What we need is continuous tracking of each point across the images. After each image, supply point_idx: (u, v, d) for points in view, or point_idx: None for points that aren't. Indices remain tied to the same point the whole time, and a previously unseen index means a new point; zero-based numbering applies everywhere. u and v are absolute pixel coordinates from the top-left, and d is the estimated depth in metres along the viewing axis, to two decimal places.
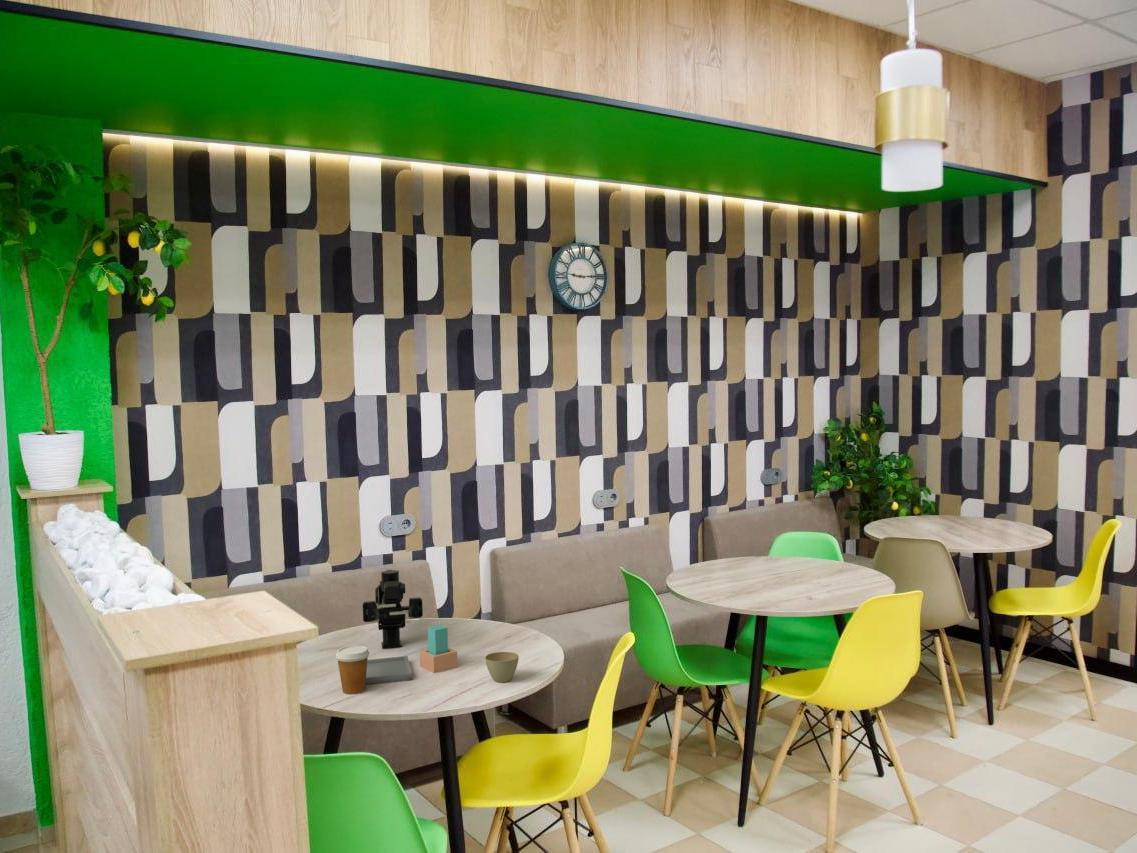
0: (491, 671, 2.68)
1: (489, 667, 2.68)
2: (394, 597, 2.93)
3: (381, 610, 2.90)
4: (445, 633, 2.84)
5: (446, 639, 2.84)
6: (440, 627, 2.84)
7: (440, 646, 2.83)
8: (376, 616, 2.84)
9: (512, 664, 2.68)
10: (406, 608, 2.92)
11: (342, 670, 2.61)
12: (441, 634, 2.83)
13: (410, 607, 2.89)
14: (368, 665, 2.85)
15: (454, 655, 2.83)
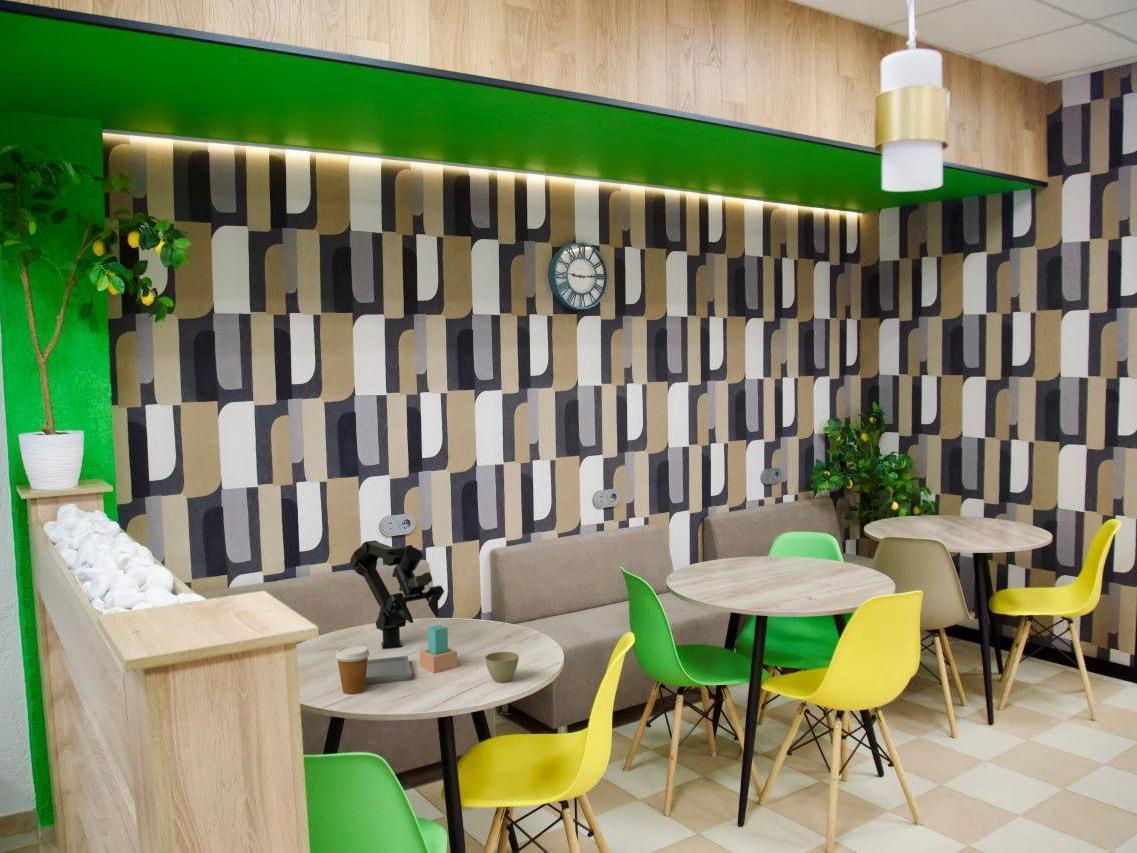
0: (491, 671, 2.68)
1: (489, 667, 2.68)
2: (419, 587, 2.93)
3: (406, 601, 2.92)
4: (445, 633, 2.84)
5: (446, 639, 2.84)
6: (440, 627, 2.84)
7: (440, 646, 2.83)
8: (407, 618, 2.88)
9: (512, 664, 2.68)
10: (427, 597, 2.97)
11: (342, 670, 2.61)
12: (440, 634, 2.82)
13: (436, 604, 2.95)
14: (368, 665, 2.85)
15: (454, 655, 2.83)
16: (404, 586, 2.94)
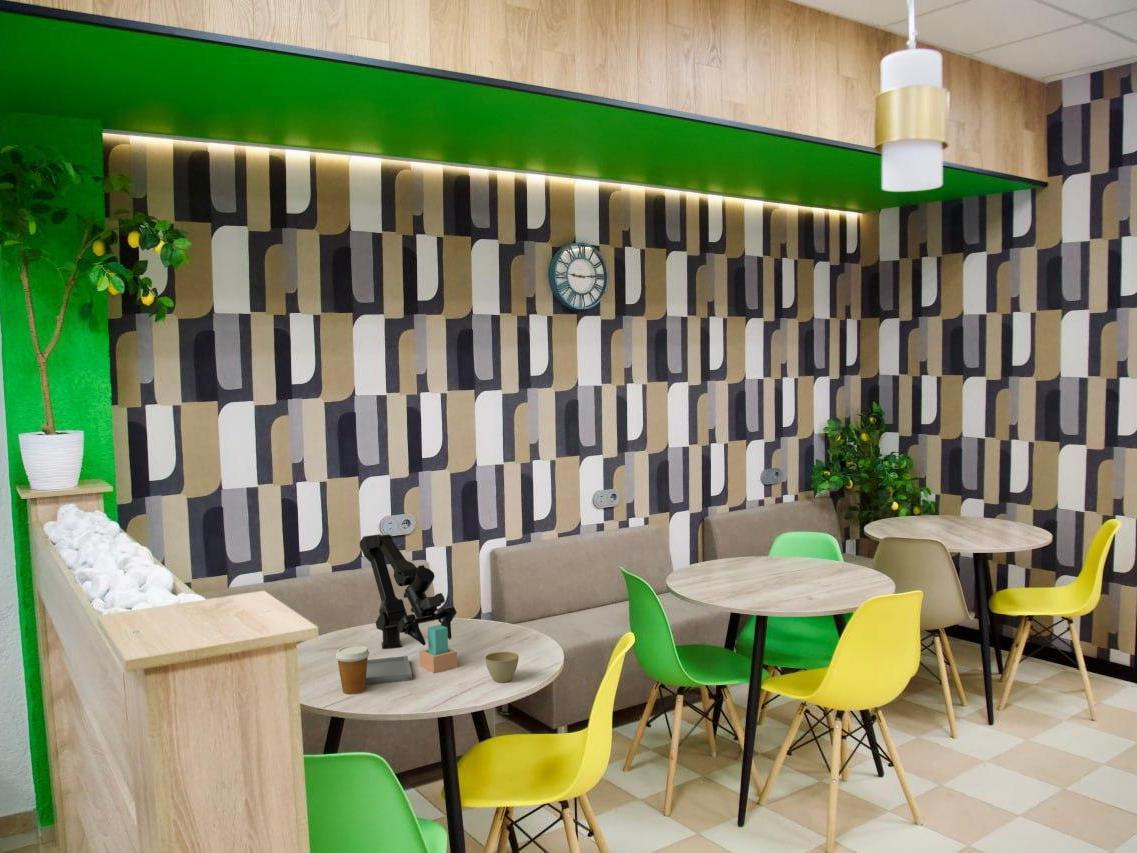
0: (491, 671, 2.68)
1: (489, 667, 2.68)
2: (431, 608, 2.88)
3: (418, 622, 2.86)
4: (445, 633, 2.84)
5: (446, 639, 2.84)
6: (440, 627, 2.84)
7: (440, 646, 2.83)
8: (420, 640, 2.82)
9: (512, 664, 2.68)
10: (440, 618, 2.91)
11: (342, 670, 2.61)
12: (441, 634, 2.83)
13: (448, 625, 2.89)
14: (368, 665, 2.85)
15: (454, 655, 2.83)
16: (416, 607, 2.89)
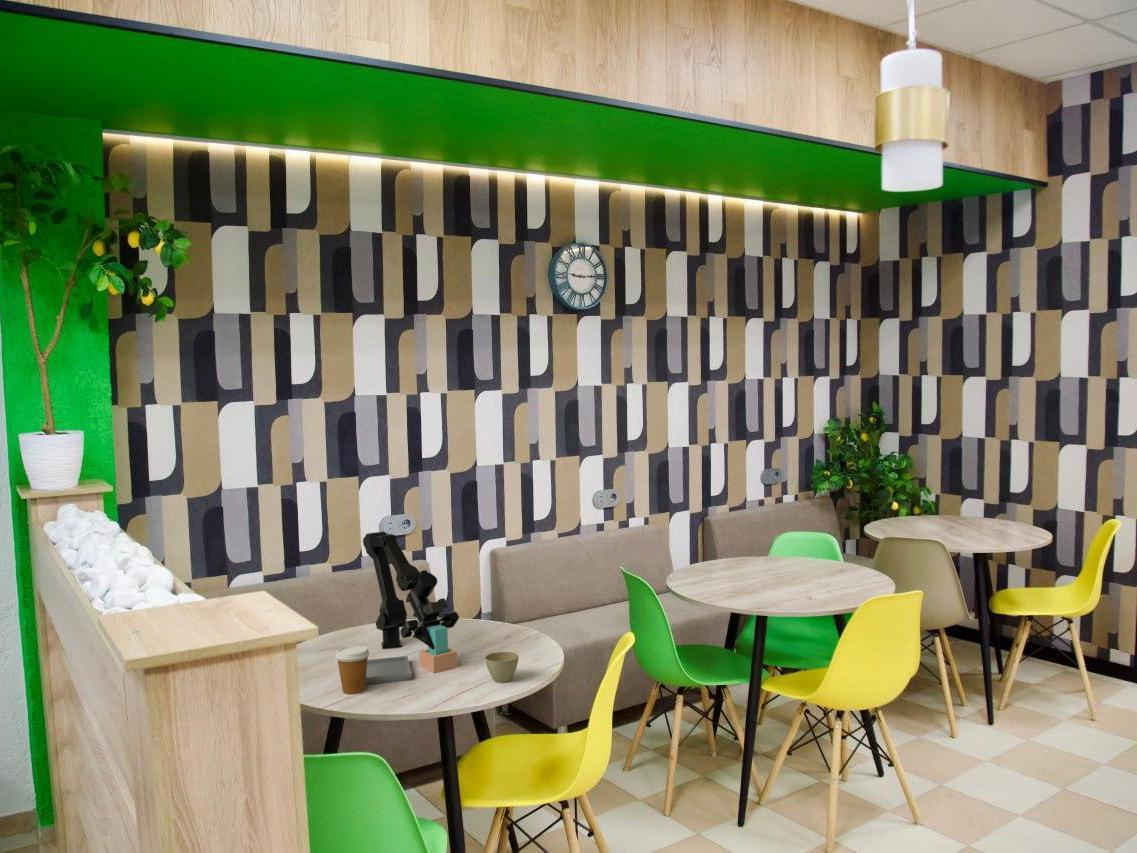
0: (491, 671, 2.68)
1: (489, 667, 2.68)
2: (433, 613, 2.87)
3: None
4: (445, 633, 2.84)
5: (446, 639, 2.84)
6: (440, 627, 2.84)
7: (440, 646, 2.83)
8: (429, 644, 2.83)
9: (512, 664, 2.68)
10: None
11: (342, 670, 2.61)
12: (441, 634, 2.83)
13: None
14: (368, 665, 2.85)
15: (454, 655, 2.83)
16: (419, 612, 2.88)
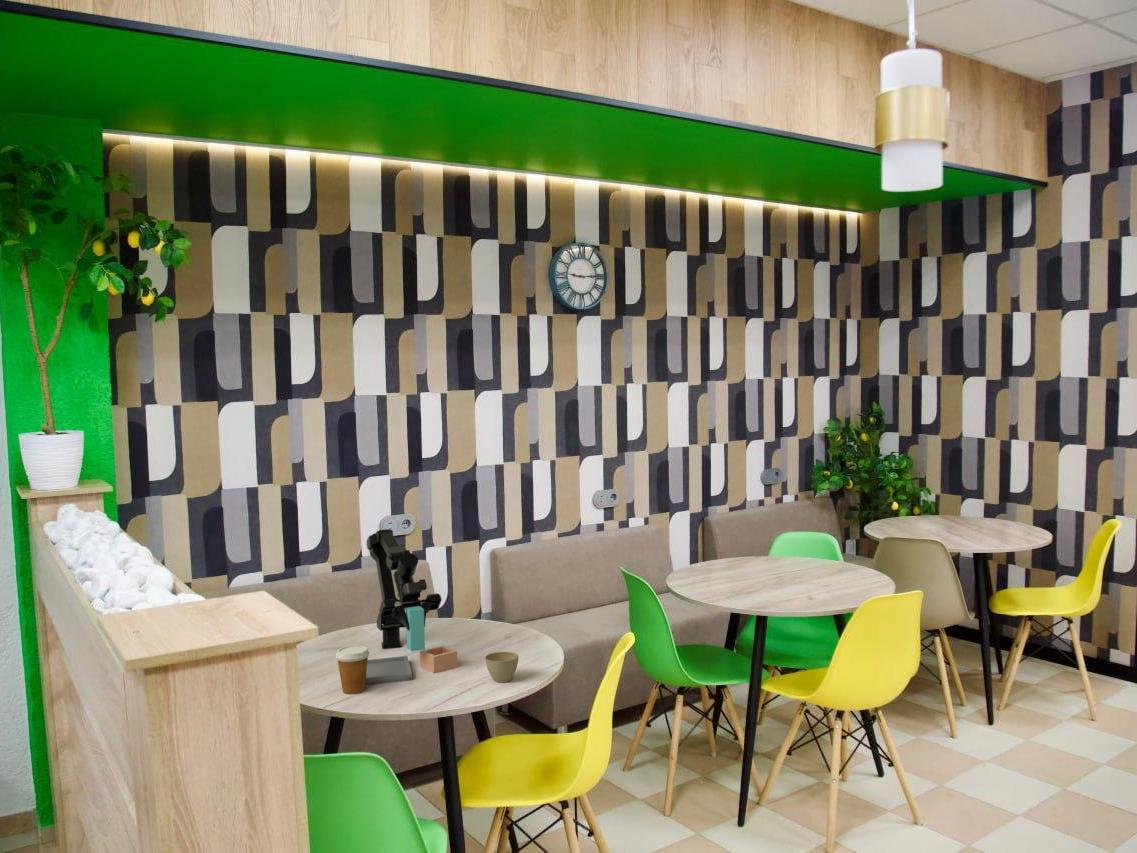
0: (491, 671, 2.68)
1: (489, 667, 2.68)
2: (413, 594, 2.84)
3: None
4: (422, 614, 2.80)
5: (422, 621, 2.80)
6: (417, 608, 2.81)
7: (416, 627, 2.79)
8: (405, 624, 2.80)
9: (512, 664, 2.68)
10: None
11: (342, 670, 2.61)
12: (416, 615, 2.79)
13: (424, 613, 2.83)
14: (368, 665, 2.85)
15: (454, 655, 2.83)
16: (400, 592, 2.86)
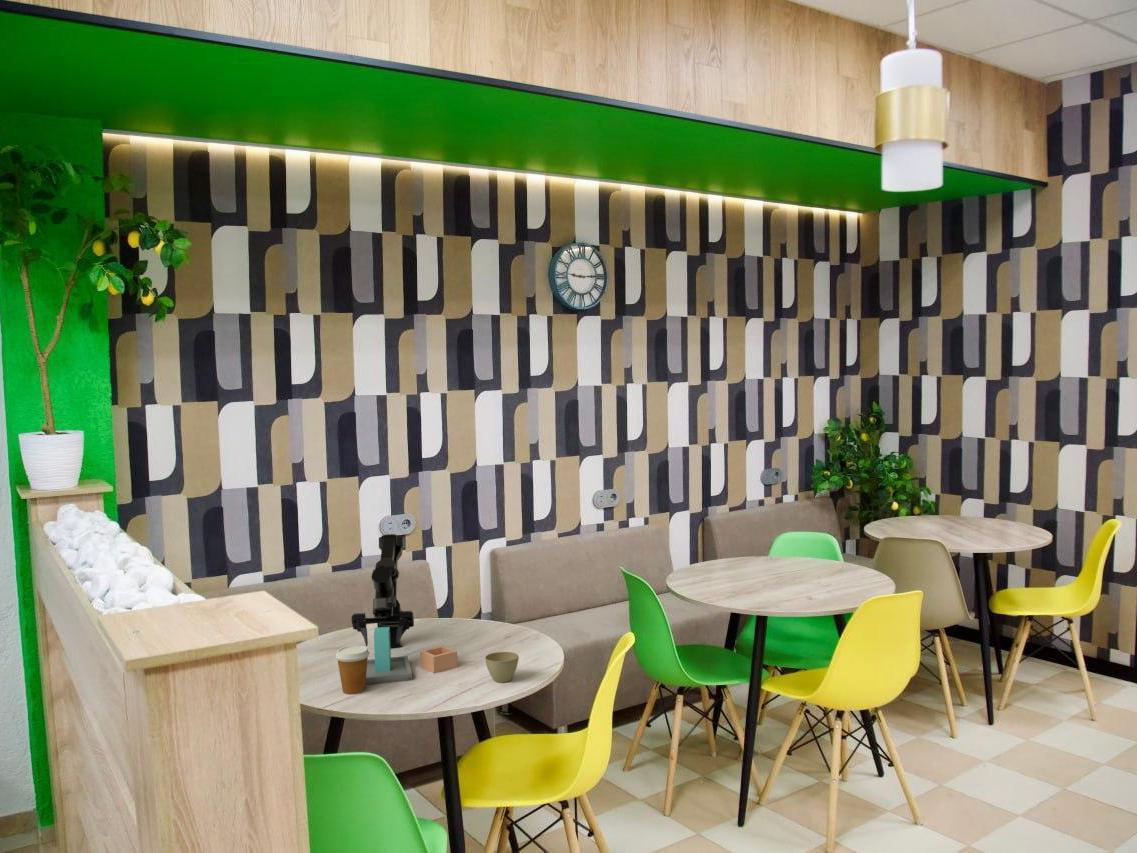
0: (491, 671, 2.68)
1: (489, 667, 2.68)
2: (384, 610, 2.83)
3: (371, 622, 2.84)
4: (386, 636, 2.78)
5: (387, 642, 2.78)
6: (384, 629, 2.80)
7: (380, 648, 2.78)
8: (364, 640, 2.80)
9: (512, 664, 2.68)
10: (396, 621, 2.84)
11: (342, 670, 2.61)
12: (380, 636, 2.78)
13: (399, 629, 2.81)
14: (368, 665, 2.85)
15: (454, 655, 2.83)
16: None
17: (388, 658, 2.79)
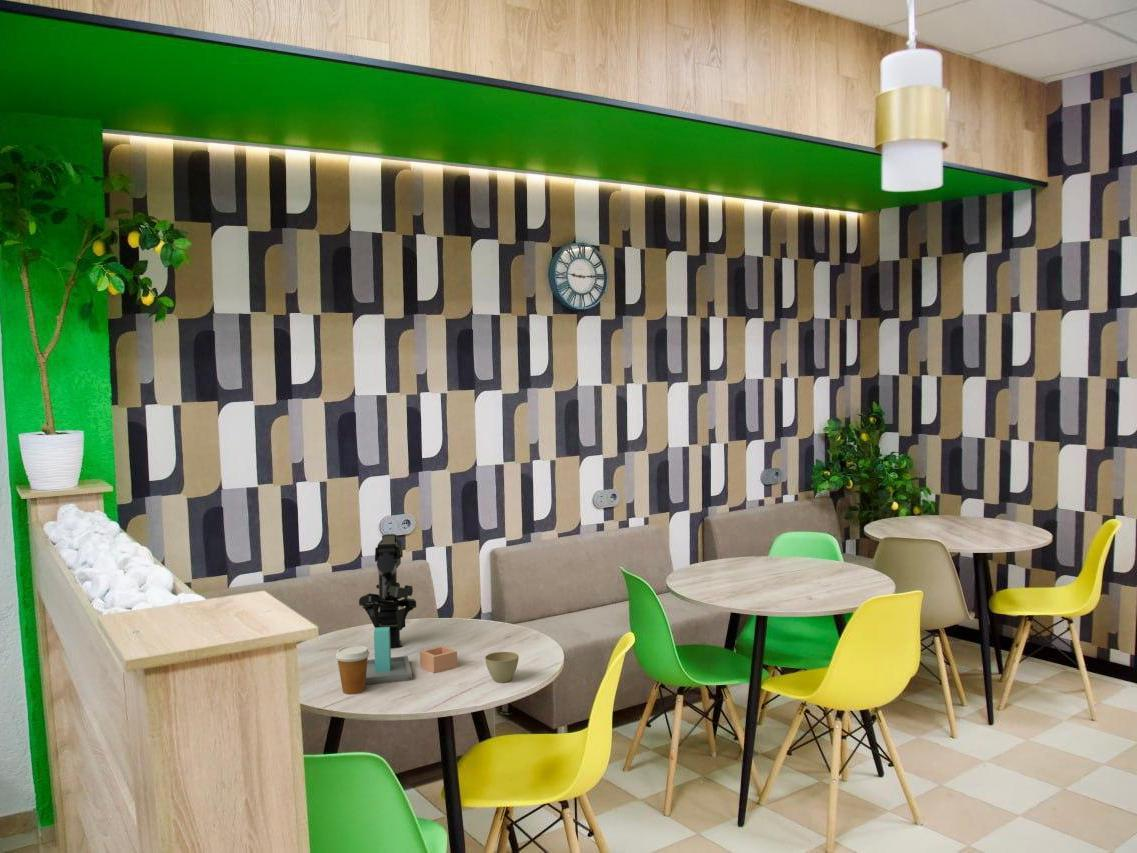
0: (491, 671, 2.68)
1: (489, 667, 2.68)
2: None
3: (379, 603, 2.90)
4: (386, 636, 2.78)
5: (387, 642, 2.78)
6: (384, 629, 2.80)
7: (380, 648, 2.78)
8: (374, 621, 2.87)
9: (512, 664, 2.68)
10: (399, 606, 2.96)
11: (342, 670, 2.61)
12: (380, 636, 2.78)
13: (404, 617, 2.94)
14: (368, 665, 2.85)
15: (454, 655, 2.83)
16: (383, 588, 2.92)
17: (388, 658, 2.79)
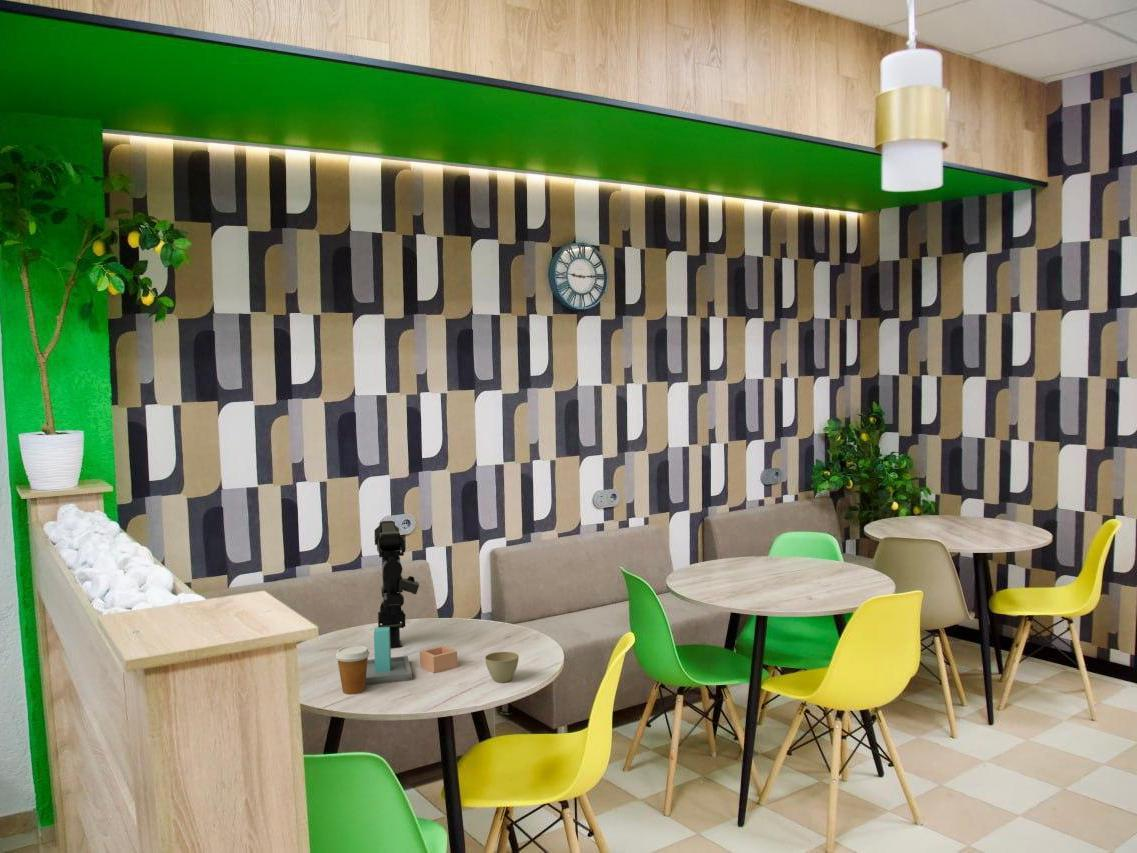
0: (491, 671, 2.68)
1: (489, 667, 2.68)
2: None
3: None
4: (386, 636, 2.78)
5: (387, 642, 2.78)
6: (384, 629, 2.80)
7: (380, 648, 2.78)
8: (393, 618, 2.86)
9: (512, 664, 2.68)
10: None
11: (342, 670, 2.61)
12: (380, 636, 2.78)
13: None
14: (368, 665, 2.85)
15: (454, 655, 2.83)
16: (395, 582, 2.89)
17: (388, 658, 2.79)
